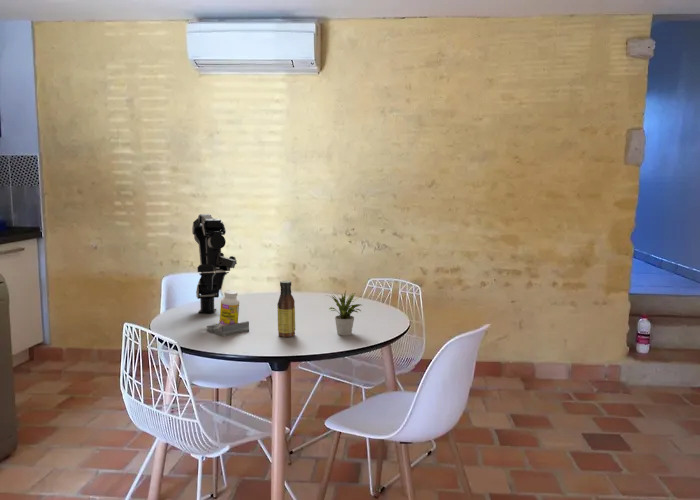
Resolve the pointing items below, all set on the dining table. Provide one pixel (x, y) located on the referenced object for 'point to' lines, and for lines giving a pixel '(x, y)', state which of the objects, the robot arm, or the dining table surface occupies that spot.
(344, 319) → the house plant
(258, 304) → the dining table surface
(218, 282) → the robot arm
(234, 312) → the supplement bottle
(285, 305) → the sauce bottle
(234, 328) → the coupler plate
